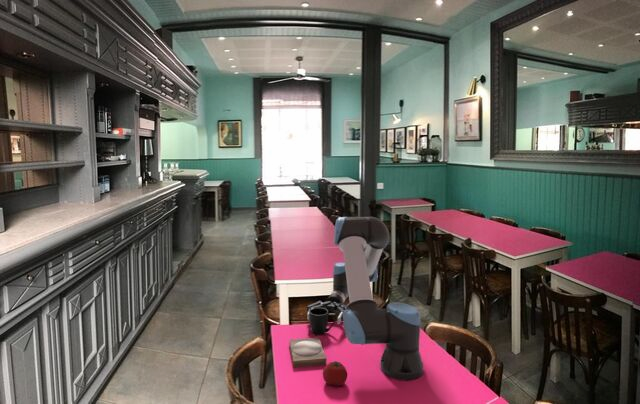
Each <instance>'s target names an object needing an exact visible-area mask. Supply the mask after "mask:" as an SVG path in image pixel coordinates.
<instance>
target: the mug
mask: <svg viewBox="0 0 640 404" xmlns="http://www.w3.org/2000/svg"><path fill="white" fill-rule="evenodd" d="M329 316H335V318H334V321H333V322H332V323H331V325H330V326H329V327H328V328H327V326H328V324H329V323H328V322H329ZM308 321H309V322H308V323H309V326H310V329H311V333H312V334H313V335H315V336H323V335H325V334H326V333H328V332H329V331H331V329H332V327H333V326H334V324H335V323H336V321H338V313H336V312H335V313H334V312H333V313H332V312H331V313H329V310H327V309H325V308H313V309H311V310H310V311H309V320H308Z"/></svg>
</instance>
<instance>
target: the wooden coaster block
mask: <svg viewBox="0 0 640 404" xmlns="http://www.w3.org/2000/svg"><path fill="white" fill-rule="evenodd" d="M289 350H290V356H291V361H292V367H293V368H304V367H316V366H324V365H325V366H326V365H327V356H326V354H325V351H324V348H323V346H322V341H321V339H320V337H309V338H296V339H293V338H292V339H289Z"/></svg>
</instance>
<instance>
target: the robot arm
mask: <svg viewBox="0 0 640 404" xmlns="http://www.w3.org/2000/svg"><path fill="white" fill-rule="evenodd" d="M389 241H390V231H389V229H388V227H387V226H386V224H385V223H384V222H383V221H382V220H381V219H379V218H377V217H374V216H342V217H341V216H339V217H337V219H335V226H334V235H333V244H334V245H336V246H338V248H339V249H338V250H340V251H341V252H342V256H343V262H336V263H334V265H333V271H332V273H333V274H332V275H333V277H332V279H333V280H332V283H333V284H332V292H331V293H330V295H329V296H328V297H327V298H326V301H324V302H322V300H318V301H316V302H314V303H312V304H309V305H307V306H306V313H307V315H306V316H307V318H306V319H307V320H308V321H309V311H310V310H311V309H313V308H325V309H327V310H328V311H331V312H335V314H338V315H337V323H336V324H337V325H340V324H341V321H343V323H342V324H343V329H344V334H345V336H346V338H347V341H348V342H349V343H350V344H352V345H361V346H364V345H374V344H375V345H376V344H377V345H378V344H385V348H384V350H383V353H382V355H381V357H380V361H379V362H380V364H379V365H380V370H381V371H382V372H383V373H384V374H385V375H386V376H388V377H391V378H393V379H396V380H401V381H411V380H416V379H418V378H420V377H421V376H422V375H423V374H424V363H423V359H422V356H421V351H420V337H421V336H420V335H421V333H420V332H421V325H422V323H421V313H420V311H419V310H418V309H417V308H416V307H415V306H413V305H411V304H408V303H405V302H398V301H394V302H393V301H392V302H389V303H388V304H387V305H386V308H379V303H378V302H377V301H376V300H375V299H373V298H374V297H373V293H372V288H371V283H372V282H377V281H378V277H379V274H378V268H377V266H378V263H379V261H380V258H381V256H382V253H383V250H384V249H385V248H386V247H387V246H388V243H389ZM347 298H349V299H348V300H349V302H348V304H347V303H345V301H346V300H347Z"/></svg>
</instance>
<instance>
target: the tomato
mask: <svg viewBox="0 0 640 404" xmlns="http://www.w3.org/2000/svg"><path fill="white" fill-rule="evenodd" d="M322 377H323V380H324V382H325V383H326V384H327V385H329V386H336V387H340V386H343V385H344V384H345V383H346V381H347V379H348V371H347V368H346V367H345V366H344V364H343V363H341V362H339V361H336V360H334V361H330V362H329V363H328V364H326V365H325V366H324V368H323V371H322Z"/></svg>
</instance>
